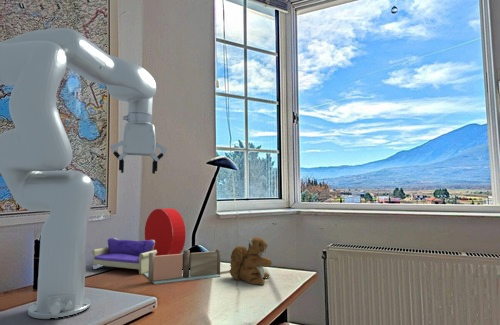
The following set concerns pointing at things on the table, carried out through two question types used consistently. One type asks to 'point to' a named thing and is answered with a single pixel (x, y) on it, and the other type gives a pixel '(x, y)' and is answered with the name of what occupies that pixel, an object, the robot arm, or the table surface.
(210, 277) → the mat
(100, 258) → the toy sofa
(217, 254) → the fixed panel
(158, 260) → the panel
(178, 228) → the red thick disc
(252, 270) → the stuffed squirrel
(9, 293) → the table surface
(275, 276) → the table surface
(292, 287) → the table surface
